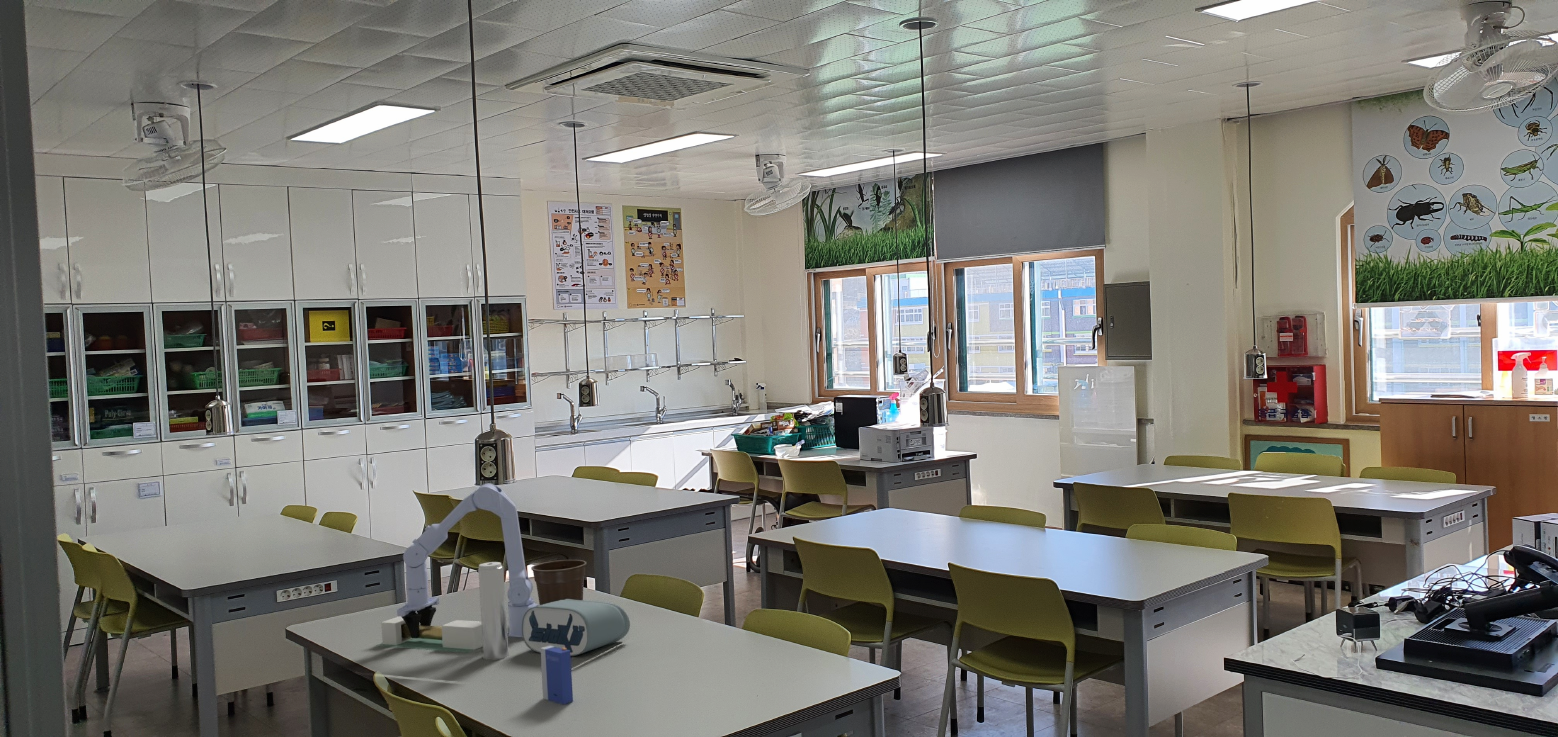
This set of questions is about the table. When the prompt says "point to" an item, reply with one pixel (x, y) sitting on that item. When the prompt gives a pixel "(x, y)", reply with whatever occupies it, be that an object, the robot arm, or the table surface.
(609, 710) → the table surface
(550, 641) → the pencil case
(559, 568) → the plant pot
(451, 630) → the sleeve
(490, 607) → the white tall cylinder
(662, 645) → the table surface
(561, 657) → the walkman
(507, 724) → the table surface
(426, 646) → the mat
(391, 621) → the socket
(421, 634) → the tube
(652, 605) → the table surface
